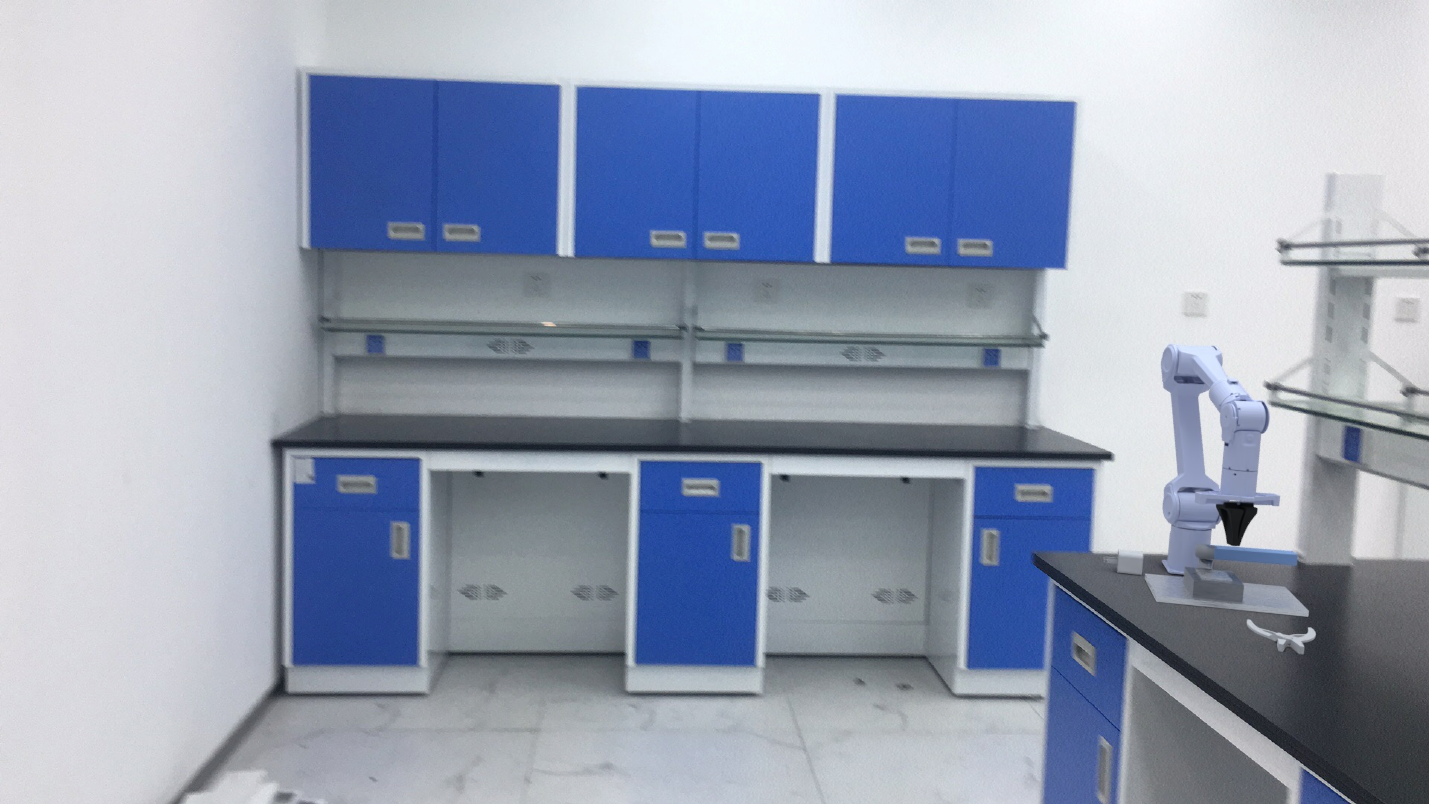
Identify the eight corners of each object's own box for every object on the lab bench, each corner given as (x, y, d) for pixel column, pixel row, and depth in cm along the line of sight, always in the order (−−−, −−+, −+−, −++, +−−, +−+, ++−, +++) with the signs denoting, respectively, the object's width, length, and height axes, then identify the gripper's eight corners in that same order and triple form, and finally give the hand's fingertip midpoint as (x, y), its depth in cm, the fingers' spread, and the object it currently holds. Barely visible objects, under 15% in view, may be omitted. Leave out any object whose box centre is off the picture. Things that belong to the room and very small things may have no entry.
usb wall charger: (1141, 576, 210) (1143, 555, 210) (1103, 572, 212) (1104, 551, 212) (1140, 571, 214) (1142, 550, 214) (1102, 567, 216) (1104, 547, 216)
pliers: (1313, 622, 179) (1328, 650, 165) (1312, 632, 179) (1327, 660, 165) (1246, 614, 183) (1255, 640, 169) (1245, 623, 183) (1254, 650, 169)
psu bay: (1144, 578, 208) (1146, 552, 207) (1284, 592, 202) (1287, 564, 202) (1156, 601, 192) (1158, 572, 192) (1308, 616, 187) (1311, 587, 186)
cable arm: (1197, 558, 202) (1198, 547, 202) (1193, 553, 206) (1194, 543, 205) (1297, 566, 199) (1298, 555, 199) (1290, 561, 203) (1291, 550, 202)
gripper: (1212, 471, 190) (1205, 549, 192) (1292, 473, 192) (1285, 551, 193) (1191, 465, 197) (1185, 540, 199) (1269, 467, 198) (1262, 541, 200)
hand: (1233, 544), depth 196 cm, fingers closed
